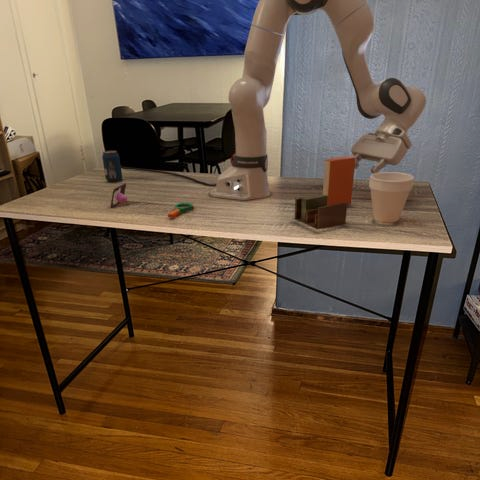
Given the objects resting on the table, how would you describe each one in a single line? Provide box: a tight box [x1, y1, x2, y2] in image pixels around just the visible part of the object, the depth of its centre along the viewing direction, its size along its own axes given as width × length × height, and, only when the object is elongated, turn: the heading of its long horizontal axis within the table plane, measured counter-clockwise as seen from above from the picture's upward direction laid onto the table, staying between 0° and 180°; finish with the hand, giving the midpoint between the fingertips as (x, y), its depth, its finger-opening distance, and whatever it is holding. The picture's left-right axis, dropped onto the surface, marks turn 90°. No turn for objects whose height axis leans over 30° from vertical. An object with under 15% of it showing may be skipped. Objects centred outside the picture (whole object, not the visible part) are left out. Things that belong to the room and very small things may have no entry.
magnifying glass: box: [167, 202, 194, 219], centre depth 151 cm, size 15×6×2 cm, turn 164°
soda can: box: [101, 150, 123, 184], centre depth 192 cm, size 7×7×12 cm
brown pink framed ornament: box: [110, 183, 130, 208], centre depth 161 cm, size 7×5×9 cm
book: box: [322, 155, 356, 206], centre depth 149 cm, size 3×10×16 cm, turn 119°
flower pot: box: [368, 171, 415, 223], centre depth 135 cm, size 12×12×14 cm
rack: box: [293, 193, 348, 230], centre depth 136 cm, size 12×11×8 cm
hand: (363, 169), depth 151 cm, fingers open, 8 cm apart
